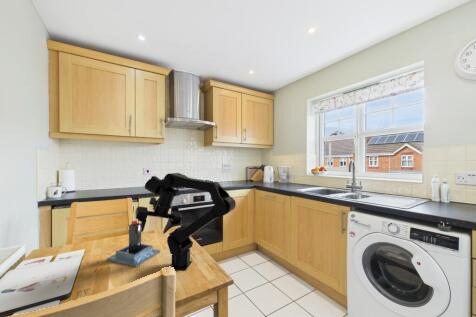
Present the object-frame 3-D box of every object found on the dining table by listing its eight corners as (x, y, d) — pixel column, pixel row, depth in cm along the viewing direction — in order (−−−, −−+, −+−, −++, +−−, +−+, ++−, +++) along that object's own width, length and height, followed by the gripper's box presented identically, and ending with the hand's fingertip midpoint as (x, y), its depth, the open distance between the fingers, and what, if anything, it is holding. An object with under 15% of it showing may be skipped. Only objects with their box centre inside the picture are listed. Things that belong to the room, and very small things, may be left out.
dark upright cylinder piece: (146, 252, 94) (146, 220, 94) (134, 258, 88) (135, 224, 88) (135, 250, 96) (135, 218, 96) (123, 256, 90) (123, 222, 90)
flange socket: (160, 252, 96) (160, 244, 96) (136, 266, 83) (136, 258, 83) (133, 247, 101) (133, 240, 101) (106, 260, 88) (107, 252, 88)
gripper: (182, 195, 99) (170, 223, 101) (141, 188, 89) (129, 219, 91) (187, 207, 90) (175, 238, 92) (142, 200, 80) (129, 235, 82)
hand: (152, 232), depth 89 cm, fingers open, 9 cm apart
